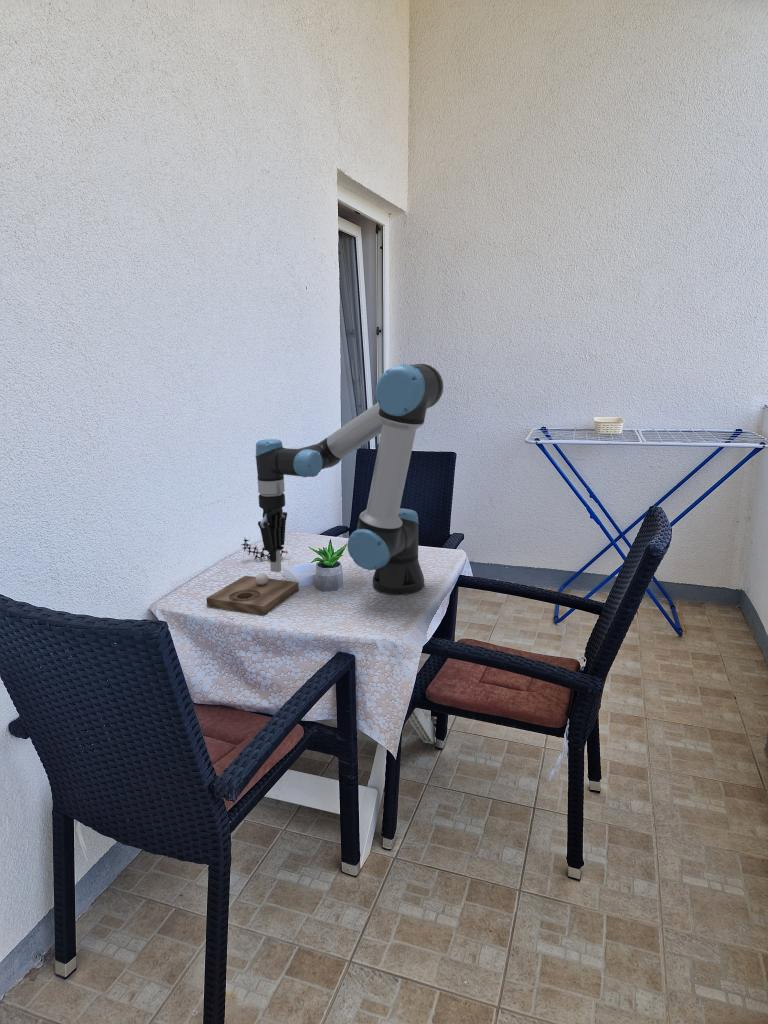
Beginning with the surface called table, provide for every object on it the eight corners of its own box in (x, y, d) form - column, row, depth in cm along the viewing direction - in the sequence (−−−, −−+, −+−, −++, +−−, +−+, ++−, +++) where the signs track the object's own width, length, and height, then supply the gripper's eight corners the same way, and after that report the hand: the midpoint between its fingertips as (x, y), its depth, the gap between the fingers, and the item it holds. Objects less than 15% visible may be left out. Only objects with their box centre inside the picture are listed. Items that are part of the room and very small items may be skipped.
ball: (270, 583, 188) (270, 571, 187) (264, 587, 184) (263, 575, 184) (260, 581, 189) (259, 570, 188) (253, 585, 186) (252, 574, 185)
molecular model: (288, 561, 215) (286, 536, 213) (242, 564, 212) (240, 540, 210) (287, 555, 221) (286, 532, 219) (242, 558, 218) (240, 535, 216)
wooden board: (298, 590, 189) (298, 582, 188) (264, 615, 171) (263, 606, 171) (245, 583, 195) (244, 575, 194) (207, 606, 178) (206, 598, 177)
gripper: (271, 488, 195) (276, 562, 201) (247, 497, 183) (253, 576, 189) (294, 489, 192) (297, 565, 198) (271, 499, 180) (275, 579, 186)
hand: (276, 570), depth 193 cm, fingers closed
